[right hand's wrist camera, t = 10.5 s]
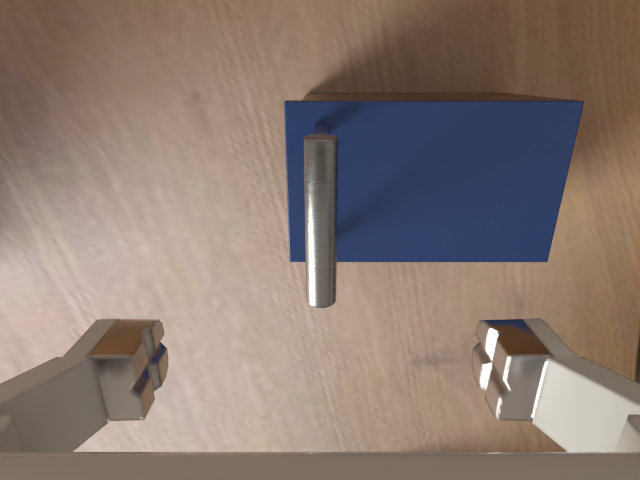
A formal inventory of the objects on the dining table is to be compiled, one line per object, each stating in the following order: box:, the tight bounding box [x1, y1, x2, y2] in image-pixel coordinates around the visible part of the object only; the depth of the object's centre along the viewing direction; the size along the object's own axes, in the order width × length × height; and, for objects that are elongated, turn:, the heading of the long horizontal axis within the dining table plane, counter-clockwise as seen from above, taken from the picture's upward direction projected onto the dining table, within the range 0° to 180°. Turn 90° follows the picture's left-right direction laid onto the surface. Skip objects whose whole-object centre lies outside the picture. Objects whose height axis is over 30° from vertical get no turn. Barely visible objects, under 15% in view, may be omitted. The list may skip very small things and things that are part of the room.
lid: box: [284, 100, 584, 308], centre depth 22 cm, size 17×10×8 cm, turn 90°
